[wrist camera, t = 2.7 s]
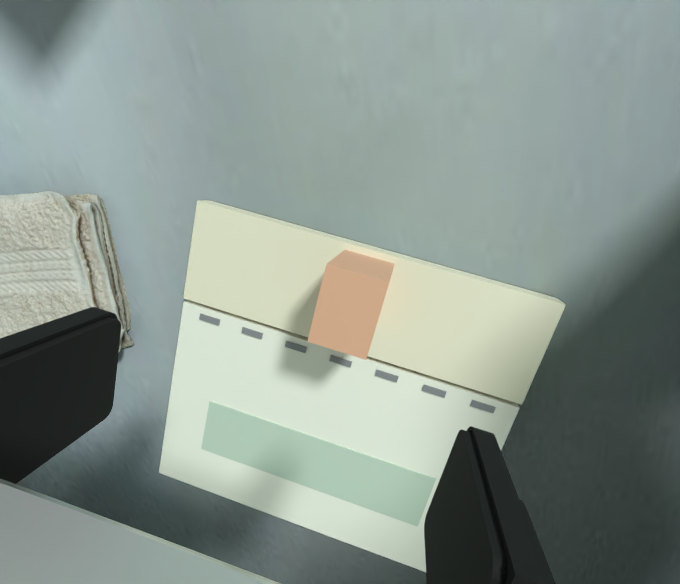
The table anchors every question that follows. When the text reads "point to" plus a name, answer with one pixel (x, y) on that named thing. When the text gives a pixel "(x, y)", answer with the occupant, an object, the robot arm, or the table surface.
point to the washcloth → (57, 261)
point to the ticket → (315, 431)
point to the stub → (370, 300)
